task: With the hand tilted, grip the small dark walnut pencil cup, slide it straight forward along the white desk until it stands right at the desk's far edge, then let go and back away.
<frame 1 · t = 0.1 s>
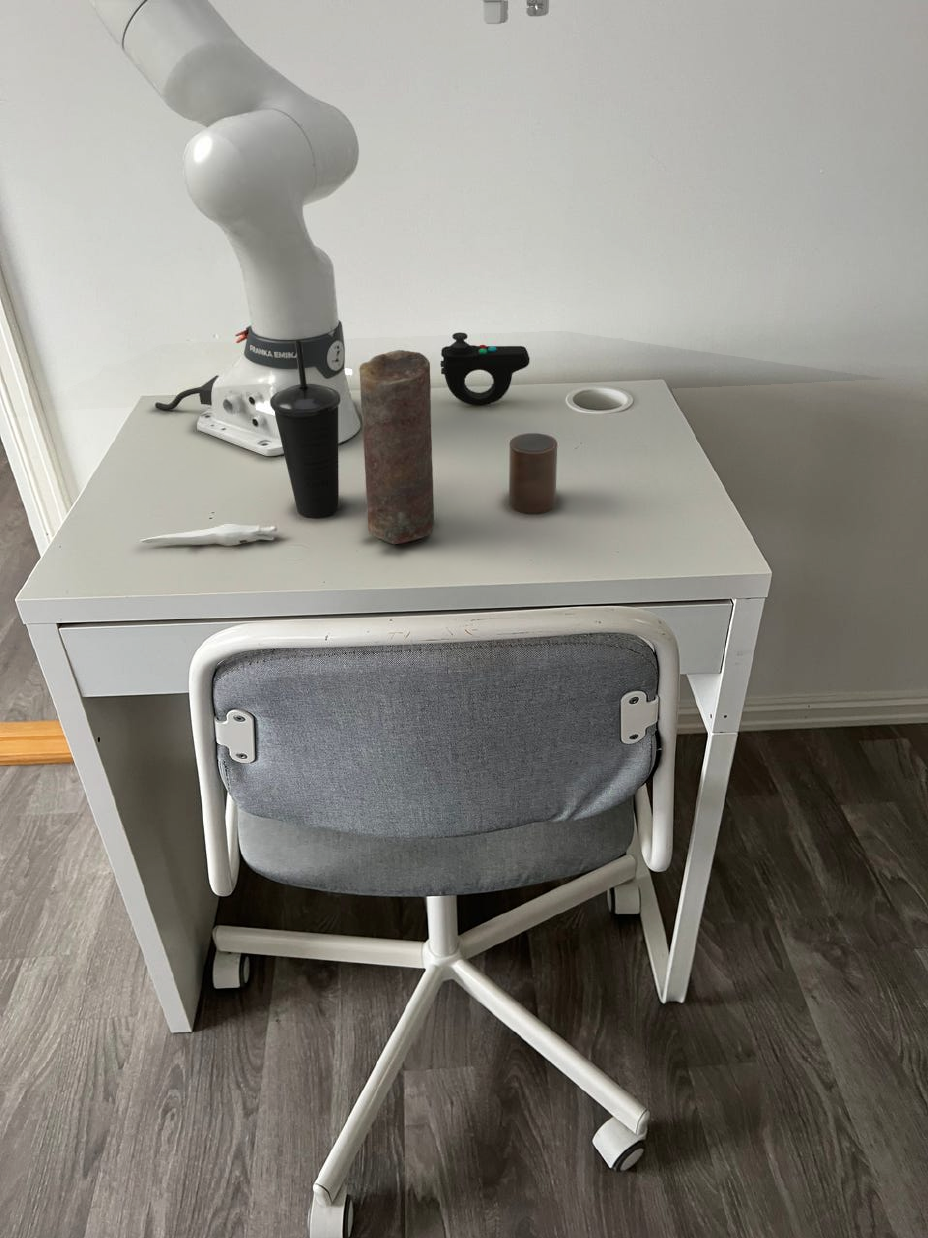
hand: (517, 19, 93), 48 cm above the table, tool pointing down, fingers open, 8 cm apart
controller: (485, 404, 139), on the table
pencil cup: (532, 502, 115), on the table
white toy lizard: (210, 544, 109), on the table
drinking cup: (318, 509, 115), on the table
brown stone cylinder: (402, 536, 109), on the table
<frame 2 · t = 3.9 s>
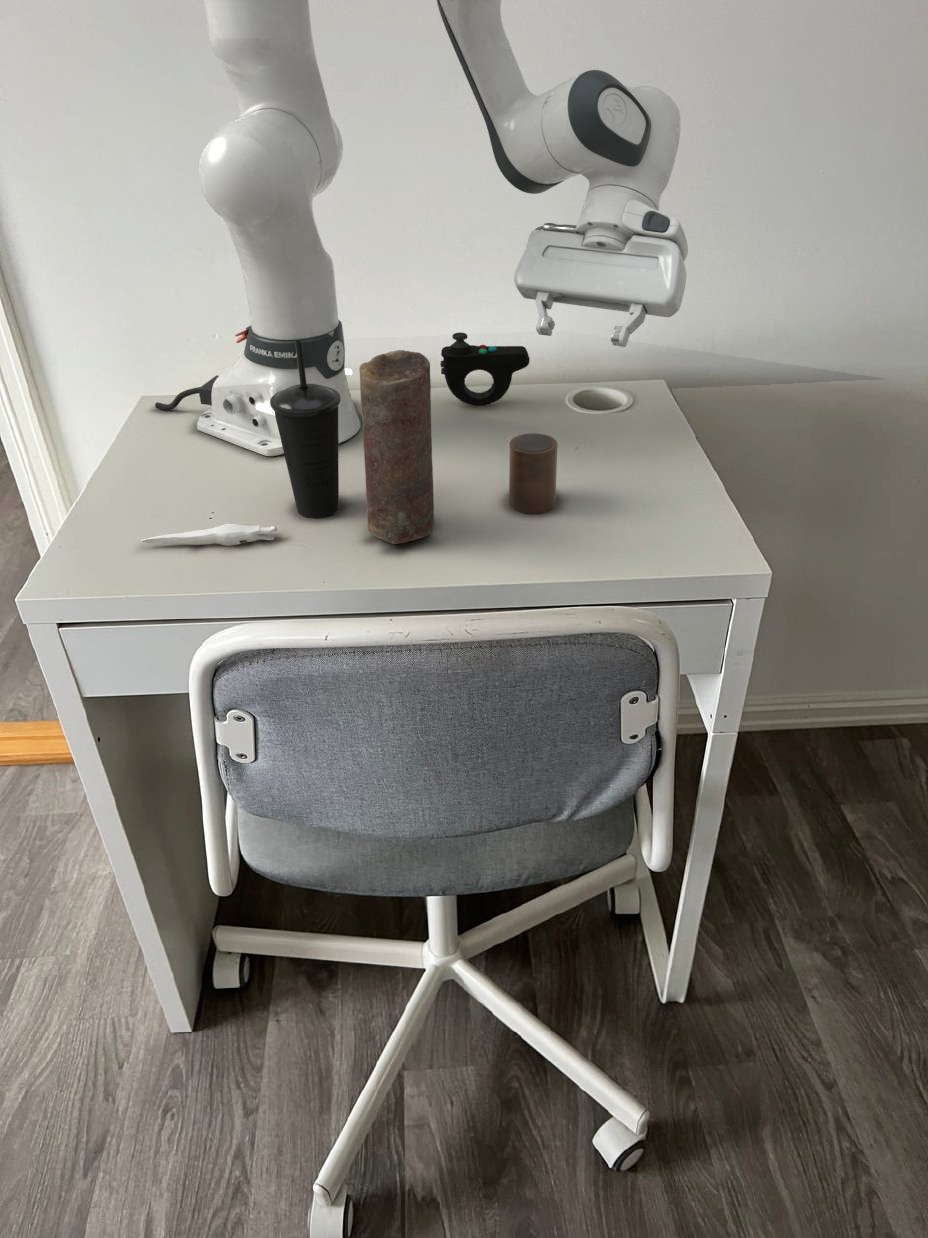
hand: (579, 338, 115), 16 cm above the table, tool tilted 45°, fingers open, 8 cm apart
nothing on the table moved.
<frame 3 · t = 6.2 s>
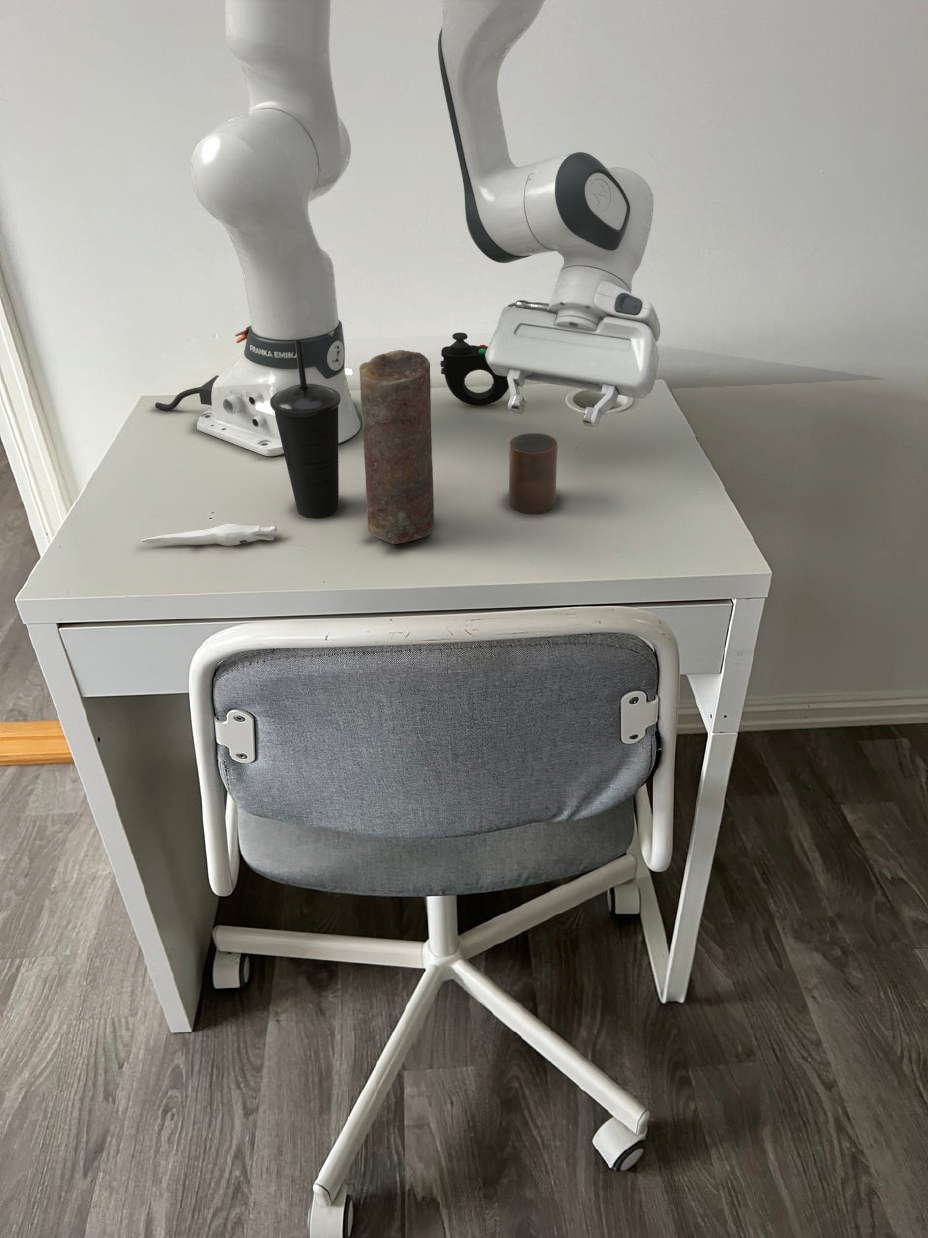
hand: (551, 418, 113), 9 cm above the table, tool tilted 45°, fingers open, 8 cm apart
nothing on the table moved.
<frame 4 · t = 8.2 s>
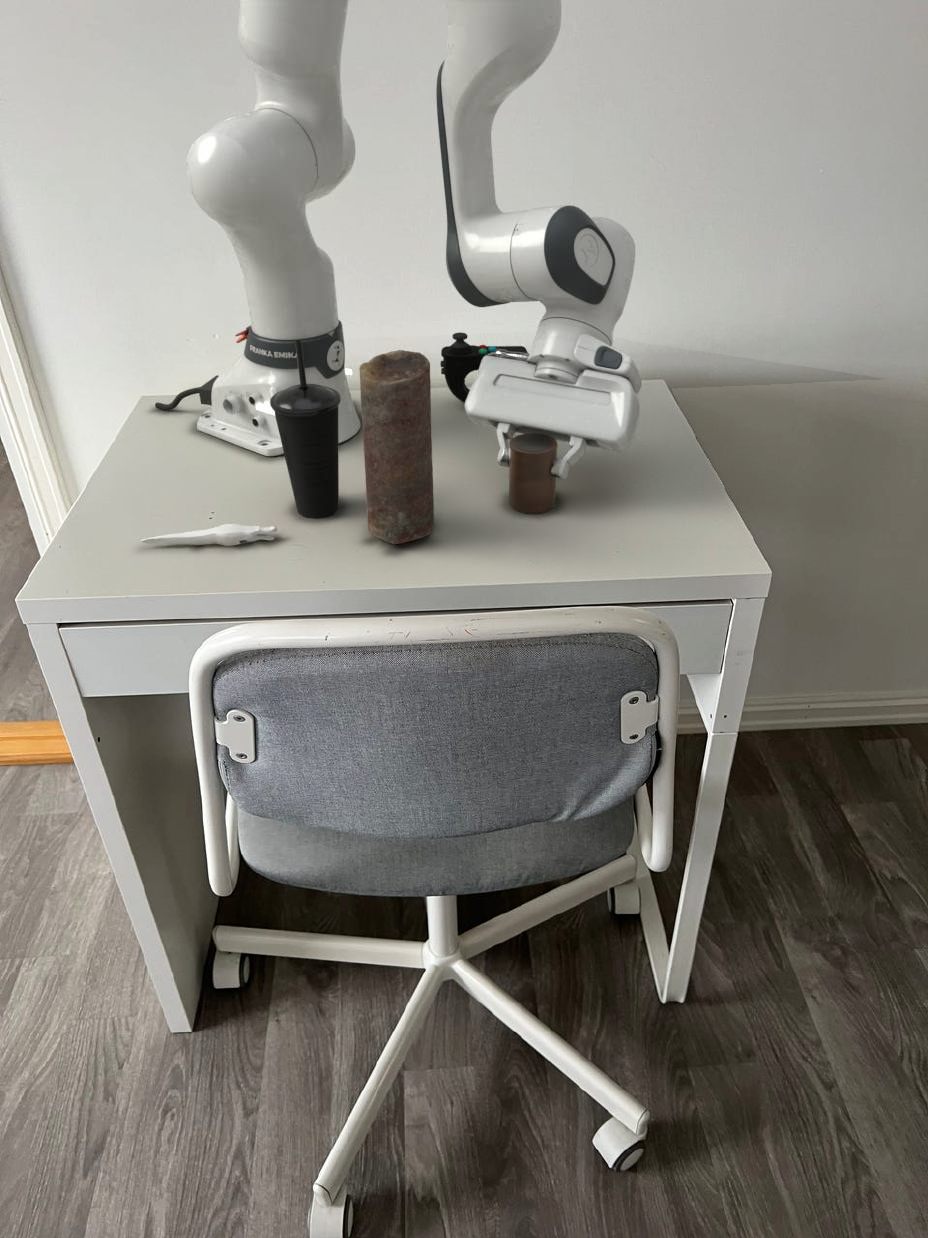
hand: (530, 471, 112), 4 cm above the table, tool tilted 45°, fingers closed on pencil cup, 5 cm apart
pencil cup: (532, 502, 115), on the table, touching gripper
everything else where it was.
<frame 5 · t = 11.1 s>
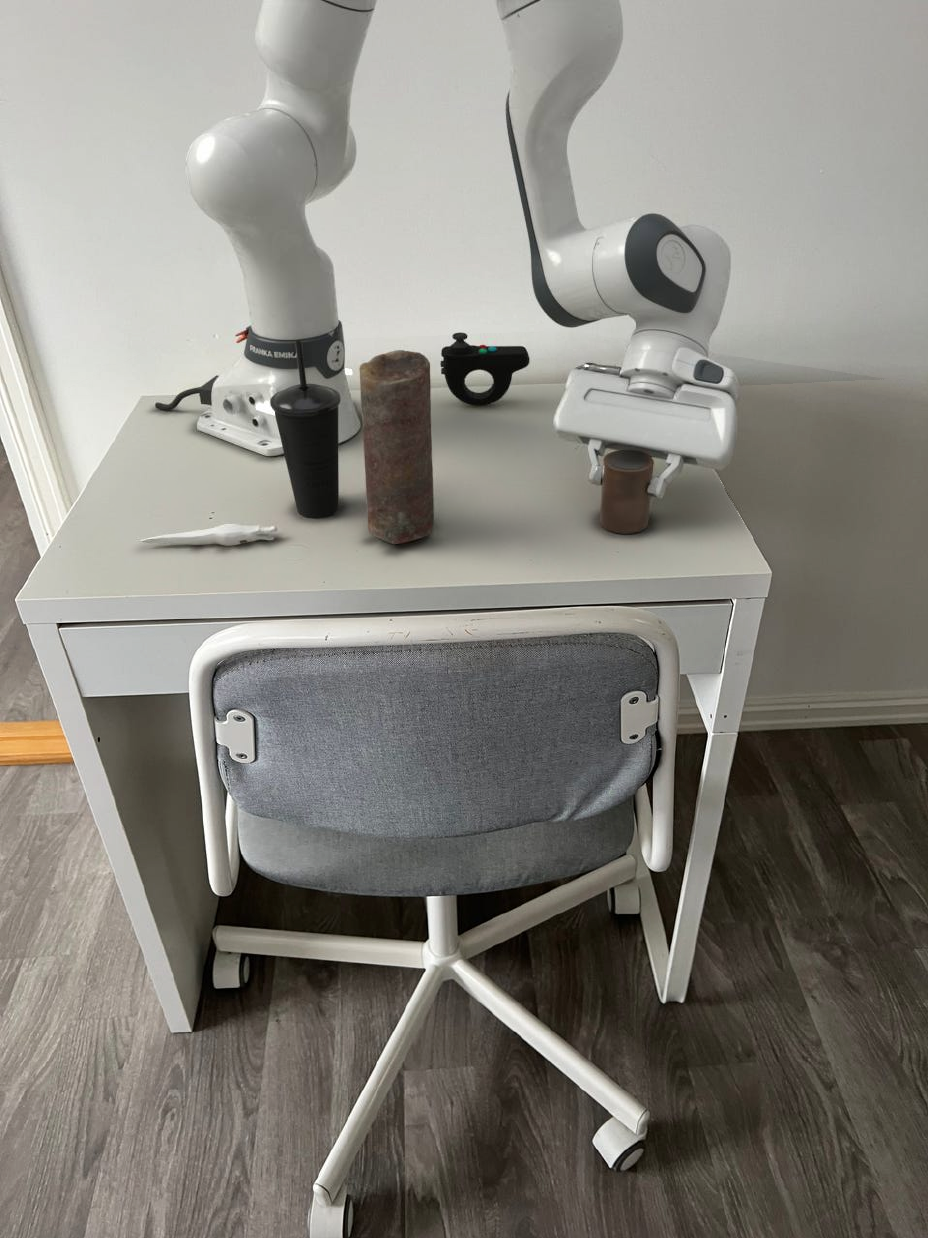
hand: (624, 489, 107), 5 cm above the table, tool tilted 45°, fingers closed on pencil cup, 5 cm apart
pencil cup: (623, 521, 110), on the table, touching gripper
everything else where it was.
when the fingers open (4 cm above the table, at t = 14.0 s): pencil cup stays where it is, on the table.
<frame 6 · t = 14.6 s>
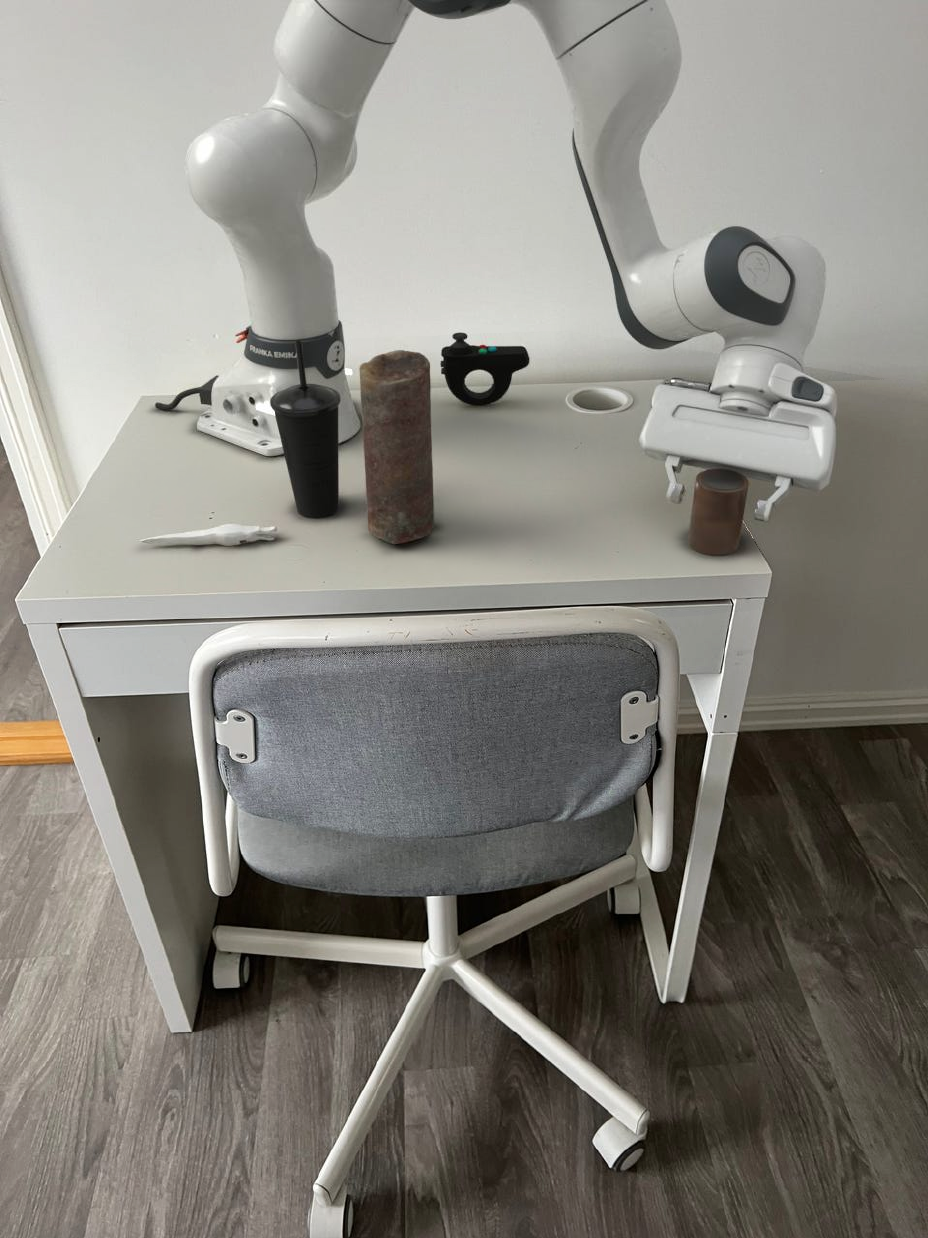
hand: (716, 510, 103), 4 cm above the table, tool tilted 45°, fingers open, 8 cm apart
pencil cup: (712, 542, 106), on the table
everything else where it was.
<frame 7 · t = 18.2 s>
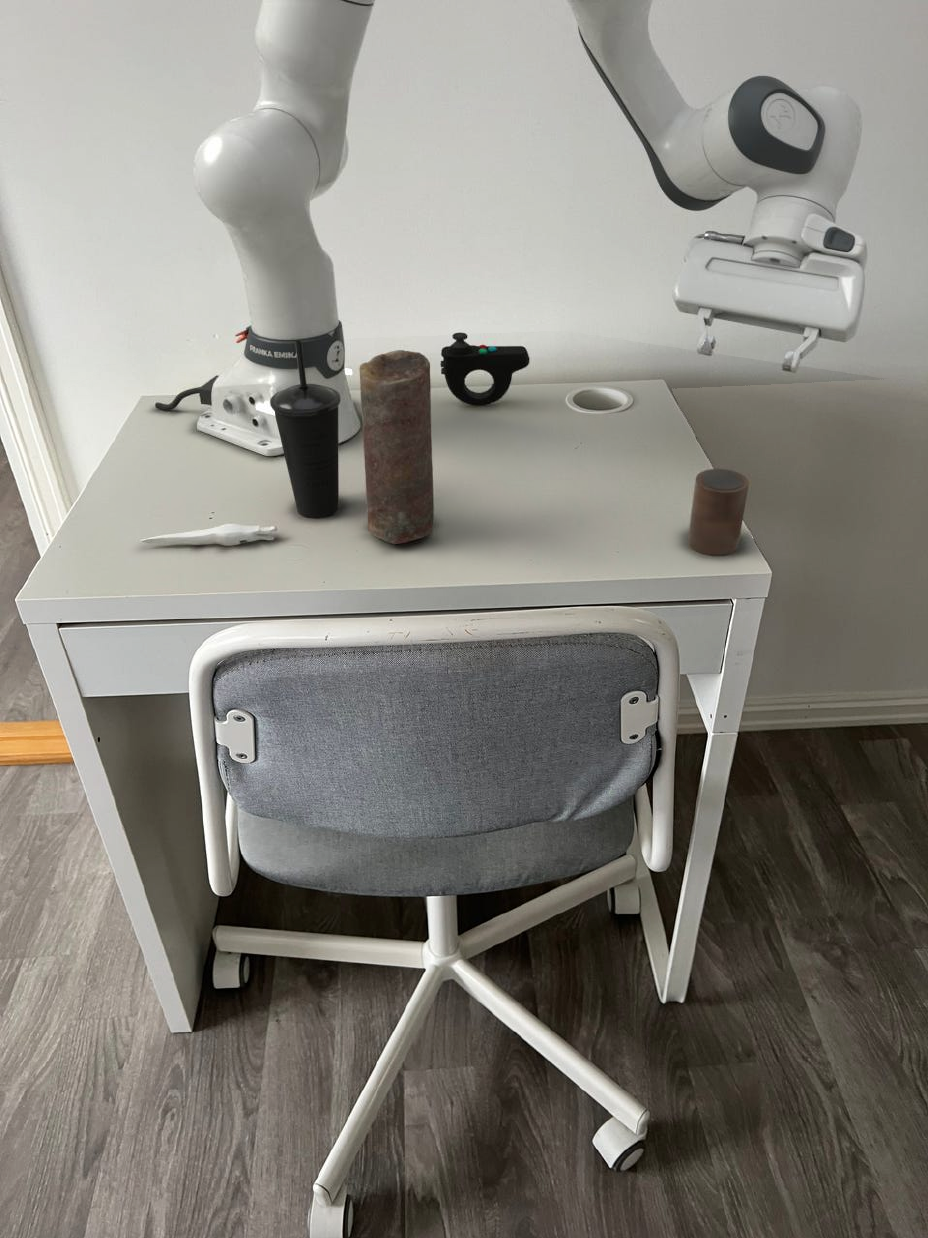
hand: (745, 361, 107), 16 cm above the table, tool tilted 40°, fingers open, 8 cm apart
nothing on the table moved.
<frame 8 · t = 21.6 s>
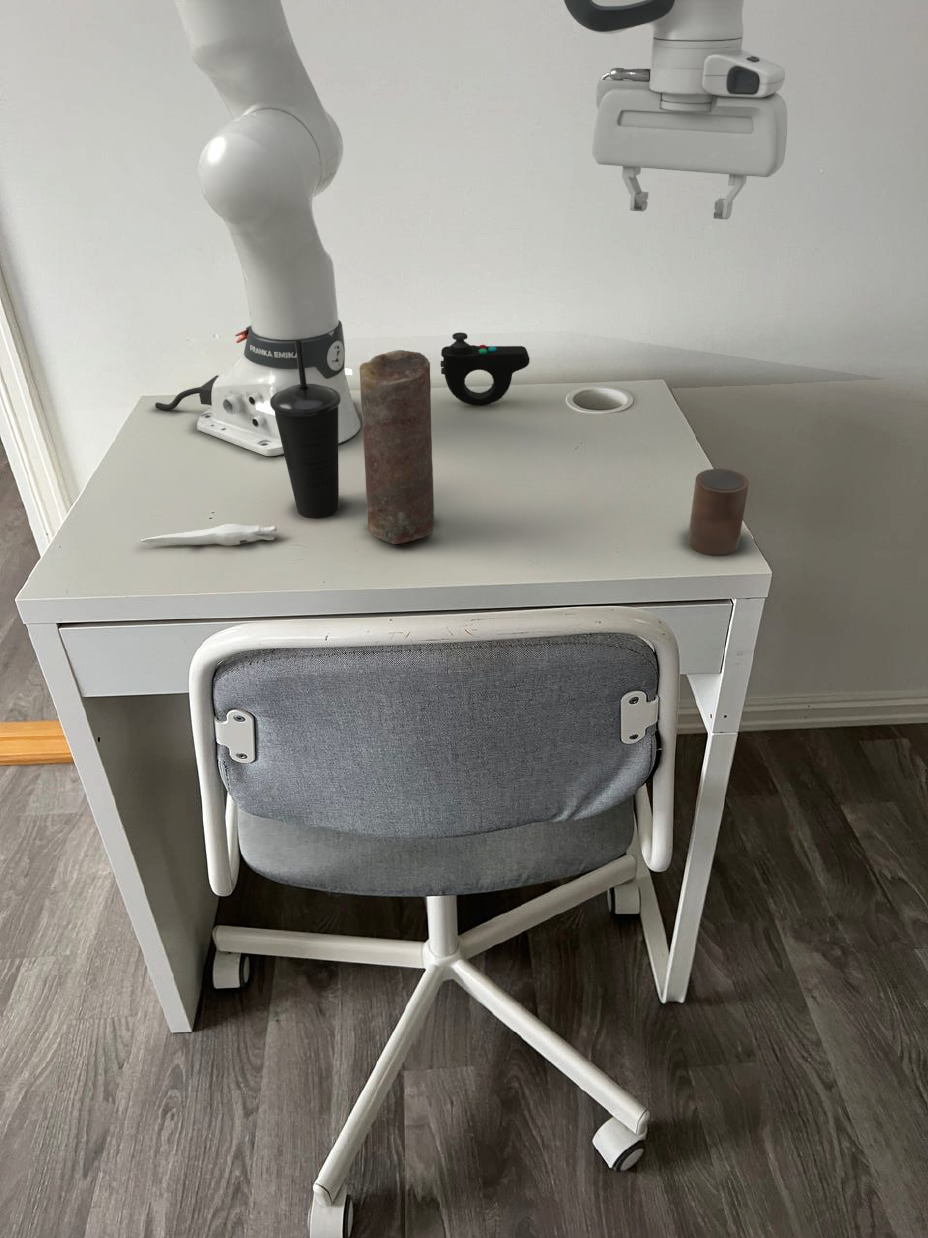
hand: (679, 213, 107), 29 cm above the table, tool pointing down, fingers open, 8 cm apart
nothing on the table moved.
at the end: pencil cup 1.3 cm from the target spot, on the table; pencil cup tilted 0°; the gripper is holding nothing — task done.
